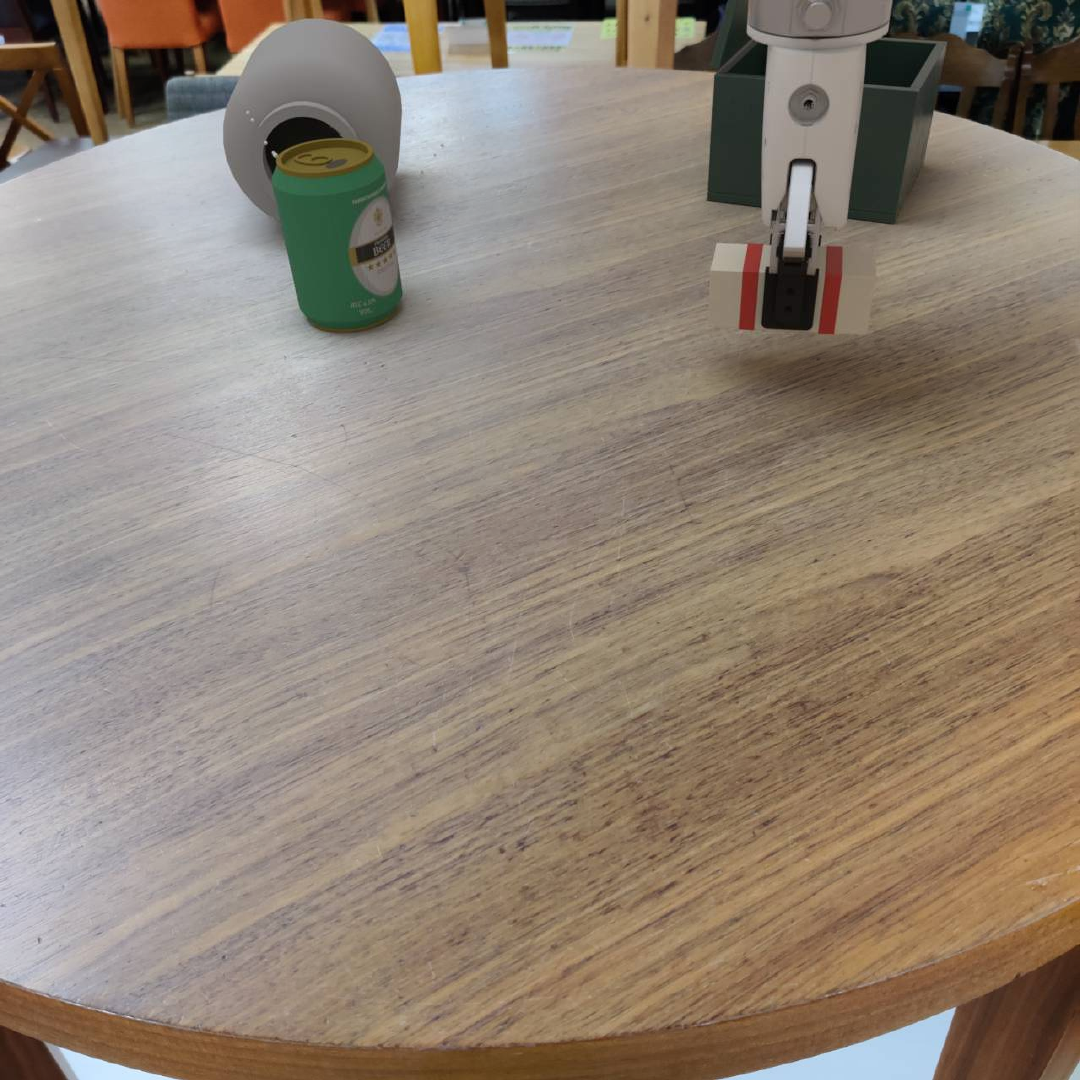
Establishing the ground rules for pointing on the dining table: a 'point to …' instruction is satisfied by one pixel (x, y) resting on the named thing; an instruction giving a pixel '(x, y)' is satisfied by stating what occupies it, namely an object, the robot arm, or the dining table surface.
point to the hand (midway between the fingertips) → (788, 306)
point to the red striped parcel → (838, 291)
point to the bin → (883, 135)
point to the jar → (309, 102)
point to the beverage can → (338, 233)
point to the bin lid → (731, 33)
